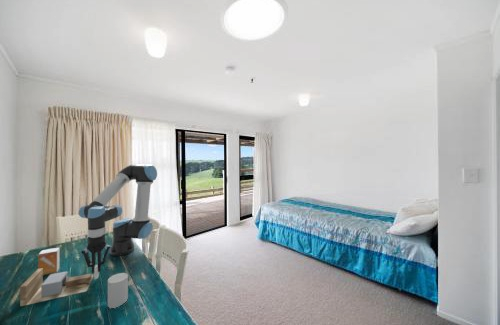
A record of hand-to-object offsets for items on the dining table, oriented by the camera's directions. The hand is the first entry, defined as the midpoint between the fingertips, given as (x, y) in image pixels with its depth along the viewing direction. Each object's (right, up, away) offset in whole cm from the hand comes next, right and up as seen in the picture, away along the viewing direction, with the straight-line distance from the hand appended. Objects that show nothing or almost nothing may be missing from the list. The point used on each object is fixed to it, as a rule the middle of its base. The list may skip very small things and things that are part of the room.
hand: (96, 277), depth 110 cm
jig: (-13, -3, -7) cm, 15 cm away
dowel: (-7, -2, -3) cm, 8 cm away
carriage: (-15, -2, -8) cm, 17 cm away
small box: (-36, -3, +10) cm, 37 cm away
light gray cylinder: (+21, -4, -14) cm, 25 cm away
